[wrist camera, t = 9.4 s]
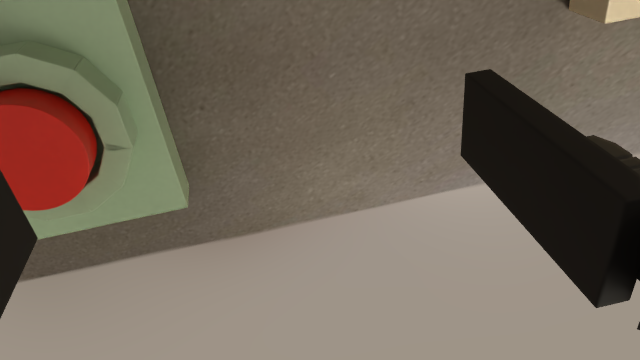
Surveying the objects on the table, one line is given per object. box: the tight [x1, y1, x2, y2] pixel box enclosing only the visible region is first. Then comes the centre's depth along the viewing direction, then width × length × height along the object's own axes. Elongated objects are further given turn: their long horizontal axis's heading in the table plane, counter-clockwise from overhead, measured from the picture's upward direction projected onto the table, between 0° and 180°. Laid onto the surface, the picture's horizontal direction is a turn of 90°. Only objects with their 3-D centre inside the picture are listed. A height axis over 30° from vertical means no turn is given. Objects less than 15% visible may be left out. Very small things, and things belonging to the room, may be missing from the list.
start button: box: [0, 88, 97, 211], centre depth 21 cm, size 5×5×2 cm
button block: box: [0, 0, 189, 240], centre depth 23 cm, size 12×10×4 cm
